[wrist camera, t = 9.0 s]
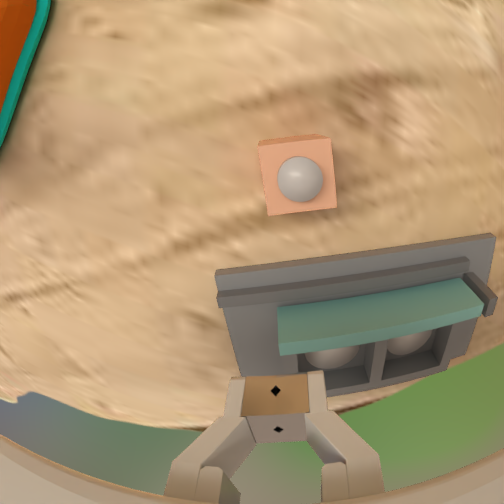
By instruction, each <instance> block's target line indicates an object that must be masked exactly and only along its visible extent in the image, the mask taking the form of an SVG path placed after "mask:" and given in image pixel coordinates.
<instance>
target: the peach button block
mask: <svg viewBox="0 0 504 504" xmlns="http://www.w3.org/2000/svg"><path fill="white" fill-rule="evenodd" d="M257 148H258V154H259V160H260V166H261V173H262V179H263V186H264V192H265V198H266V205H267V212H268V216H271V215H279V214H287V213H295V212H303V211H311V210H320V209H328V208H337V200H336V188H335V176H334V166H333V156H332V147H331V139H330V138H328V137H325V136H321V135H317V134H312V135H302V136H293V137H285V138H277V139H269V140H262V141H259V143H258V146H257Z"/></svg>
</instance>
